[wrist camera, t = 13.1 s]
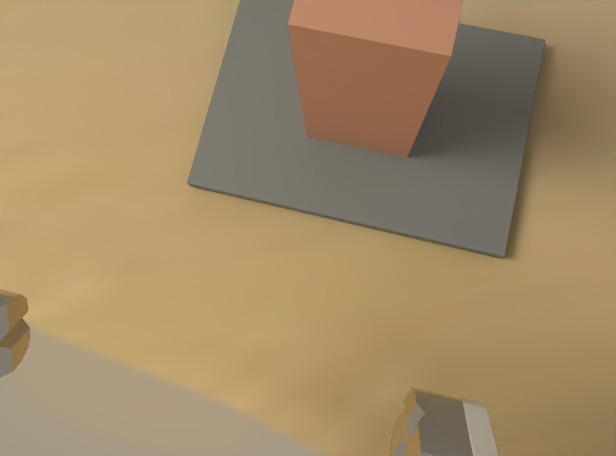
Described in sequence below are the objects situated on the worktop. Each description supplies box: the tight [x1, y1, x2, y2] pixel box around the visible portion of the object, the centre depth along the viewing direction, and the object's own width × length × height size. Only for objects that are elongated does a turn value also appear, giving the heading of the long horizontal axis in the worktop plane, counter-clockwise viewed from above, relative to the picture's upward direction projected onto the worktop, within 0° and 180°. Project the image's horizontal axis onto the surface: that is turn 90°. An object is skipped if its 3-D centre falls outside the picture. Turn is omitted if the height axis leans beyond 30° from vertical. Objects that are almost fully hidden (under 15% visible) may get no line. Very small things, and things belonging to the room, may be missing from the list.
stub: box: [288, 0, 463, 158], centre depth 19 cm, size 4×4×9 cm
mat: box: [187, 0, 545, 258], centre depth 23 cm, size 14×10×1 cm
